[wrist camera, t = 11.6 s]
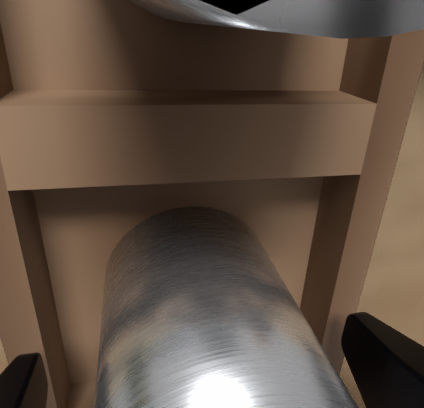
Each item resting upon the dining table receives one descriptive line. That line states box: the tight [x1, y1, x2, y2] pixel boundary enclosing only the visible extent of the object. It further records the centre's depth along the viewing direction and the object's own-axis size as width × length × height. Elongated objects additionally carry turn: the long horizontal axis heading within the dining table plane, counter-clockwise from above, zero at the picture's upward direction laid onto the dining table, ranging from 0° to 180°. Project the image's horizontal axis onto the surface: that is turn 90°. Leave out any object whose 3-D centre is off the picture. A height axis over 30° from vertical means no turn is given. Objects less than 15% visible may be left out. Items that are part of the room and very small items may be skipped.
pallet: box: [0, 0, 424, 408], centre depth 8 cm, size 9×18×2 cm, turn 178°
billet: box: [94, 207, 358, 408], centre depth 8 cm, size 4×4×6 cm
